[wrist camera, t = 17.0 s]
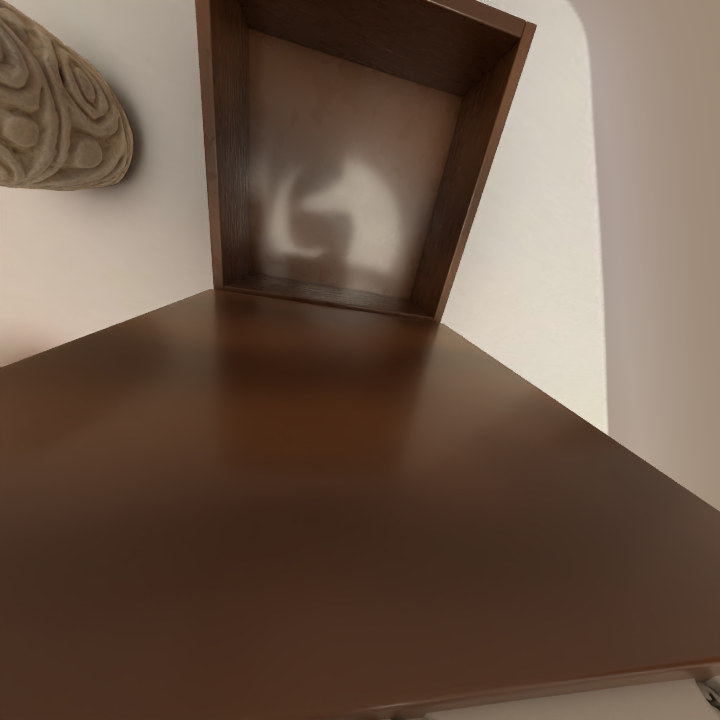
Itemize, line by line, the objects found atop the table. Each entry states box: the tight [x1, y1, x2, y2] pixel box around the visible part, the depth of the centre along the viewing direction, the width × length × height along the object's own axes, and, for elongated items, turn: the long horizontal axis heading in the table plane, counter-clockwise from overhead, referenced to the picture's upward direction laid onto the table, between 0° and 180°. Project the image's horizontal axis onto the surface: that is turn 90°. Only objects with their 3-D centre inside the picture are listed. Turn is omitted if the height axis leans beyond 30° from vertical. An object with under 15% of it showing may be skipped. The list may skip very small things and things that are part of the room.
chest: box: [195, 0, 537, 323], centre depth 17 cm, size 15×15×7 cm
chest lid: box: [0, 289, 720, 720], centre depth 10 cm, size 16×15×1 cm
